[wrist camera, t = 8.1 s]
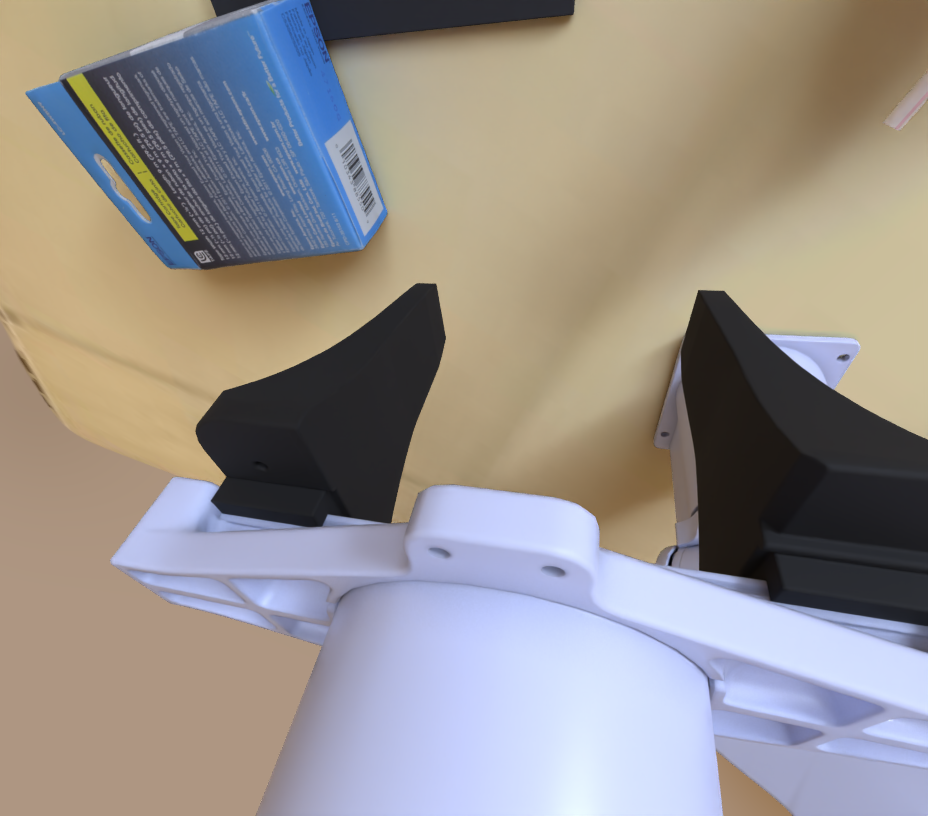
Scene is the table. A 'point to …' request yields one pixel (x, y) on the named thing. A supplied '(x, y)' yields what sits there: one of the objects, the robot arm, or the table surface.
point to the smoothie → (909, 104)
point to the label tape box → (225, 140)
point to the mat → (412, 14)
